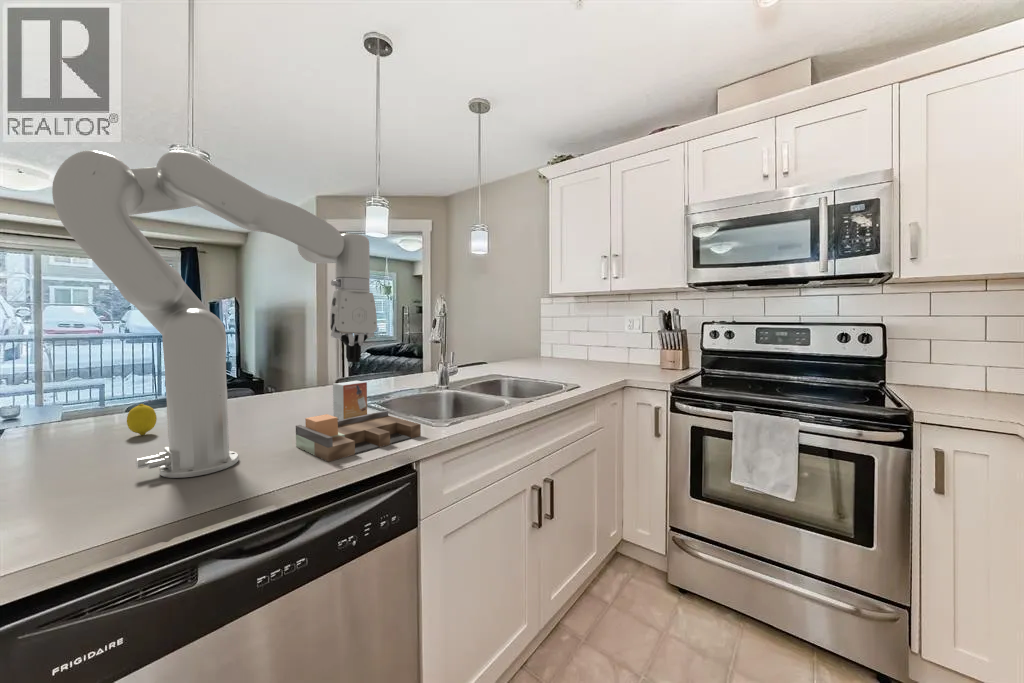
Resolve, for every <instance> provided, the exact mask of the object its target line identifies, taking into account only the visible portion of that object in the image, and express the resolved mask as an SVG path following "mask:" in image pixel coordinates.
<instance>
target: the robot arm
mask: <svg viewBox="0 0 1024 683" xmlns="http://www.w3.org/2000/svg"><path fill="white" fill-rule="evenodd" d="M51 193H52V201H53V205H54V209H55V211H56V215H57V216H58V219H59V221H60V222H61V223H62V225H63V227H64V228H65V230H66V231H67V233H68V234H69V235H70V236H71V237H72V239H73V240H74V241H75V242H76V244H78V245H79V247H80V248H81V249H82V250H83V251H84V253H86V254H87V256H89V258H90V259H91V260H92V261H93V263H94V264H95V265H96V266H97V267H98V268H99V269H100V270H101V272H103V274H105V276H106V277H107V278H108V279H109V280H110V282H112V283H113V285H114V286H115V288H116V289H117V290H118V291H119V292H120V294H121V295H122V297H123V298H124V299H125V300H126V301H127V302H128V303H130V304H131V305H132V306H134V307H135V308H136V309H137V310H138V311H139V312H140V313H141V314H142V315H143V317H144V318H145V319H146V320H148V322H149V323H150V324H151V326H153V327H154V329H156V330H157V332H159V333H160V335H162V350H163V363H164V378H165V379H164V381H165V395H166V413H167V435H168V436H167V437H168V439H167V440H168V446H165V447H163V451H161V452H158V453H157V454H155V455H150V456H143V457H137V458H136V459H135V466H136V469H137V470H140V469H145V468H148V470H150V469H156V468H158V467H159V468H158V470H159V475H160V476H162V477H164V478H169V479H180V478H181V479H184V478H185V479H186V478H192V477H194V478H195V477H198V476H204V475H210V474H213V473H216V472H220V471H223V470H225V469H228V468H230V467H233V466H234V465H236V464H237V462H239V459H240V458H239V457H240V456H239V453H238V452H236V451H233V450H230V434H229V411H228V410H229V408H228V405H229V404H228V386H227V385H228V384H227V332H226V328H225V325H224V323H223V322H222V320H221V318H219V317H218V316H217V315H216V314H214V313H213V312H211V310H209V309H208V308H207V307H206V306H205V304H204V303H203V302H202V301H201V300H200V298H198V296H197V295H196V294H195V293H194V292H193V290H192V289H191V288H190V287H189V286H188V284H187V283H186V281H185V280H184V279H183V278H182V275H181V274H180V273H179V271H177V269H175V268H174V267H173V266H172V265H170V263H169V262H167V261H166V260H165V259H164V258H163V256H162V255H161V254H160V253H159V252H158V251H157V250H156V248H155V247H154V246H153V245H152V244H151V243H150V242H149V240H148V239H147V238H146V236H145V235H144V234H143V233H142V231H141V230H140V229H139V228H138V226H137V225H136V224H135V223H134V222H133V220H132V219H131V217H130V216H132V215H133V216H134V215H140V214H149V213H150V214H151V213H158V212H166V211H172V210H173V211H174V210H179V209H180V210H181V209H187V208H191V207H195V206H197V207H199V208H202V209H203V210H206V211H207V212H210V213H212V214H214V215H215V216H218V217H219V218H222V219H223V220H226V221H227V222H229V223H231V224H233V225H235V226H237V227H239V228H241V229H244V230H248V231H252V232H260V233H266V234H270V235H273V236H276V237H280V238H281V239H285V240H286V241H288V242H291V243H292V244H295V245H297V250H298V253H299V255H300V257H302V258H303V260H305V261H306V262H308V263H311V264H317V265H319V264H335V265H336V266H335V268H336V269H335V270H336V272H335V275H336V276H335V279H331V281H330V284H331V286H332V287H333V286H334V287H335V291H333V294H332V299H331V306H330V316H329V317H330V319H329V320H330V321H329V324H330V331H331V334H330V337H331V338H333V339H337V340H339V341H341V342H342V343H343V345H345V358H346V359H347V360H346V361H347V362H348V363H360V362H361V358H362V346H363V345H364V343H365V342H366V341H367V340H368V339H371V338H374V337H375V332H376V331H377V330H378V318H377V308H376V301H375V297H374V296H375V295H374V293H373V292H370V290H371V289H370V288H371V287H370V284H371V283H370V281H371V280H370V278H371V277H370V268H371V267H370V266H371V265H370V256H371V255H370V241H369V239H368V237H367V236H366V235H362V234H358V233H349V232H348V233H346V232H345V233H340V231H339V230H338V229H337V228H336V227H335V226H333V225H332V224H330V223H329V222H327V221H326V220H324V219H322V218H320V217H319V216H317V215H315V214H314V213H312V212H310V211H308V210H306V209H304V208H302V207H300V206H297V205H296V204H293V203H290V202H287V201H285V200H282V199H280V198H278V197H275V196H272V195H270V194H266V193H265V192H263V191H261V190H258V189H256V188H254V187H252V186H251V185H249V184H247V183H246V182H244V181H242V180H240V179H239V178H236V177H235V176H234V175H232V174H230V173H229V172H226V171H224V170H222V169H221V168H219V167H217V166H216V165H214V164H212V163H210V162H208V161H206V160H205V159H202V158H201V157H199V156H197V155H195V154H194V153H191V152H188V151H185V150H181V149H180V150H178V149H177V150H176V149H174V150H170V151H168V152H166V153H164V154H163V155H162V156H160V158H159V160H158V162H157V163H156V166H150V167H137V168H130V167H129V166H128V165H127V164H125V162H123V161H122V160H121V159H119V158H117V157H115V156H114V155H111V154H110V153H107V152H103V151H98V150H92V149H91V150H83V151H79V152H76V153H73V154H71V155H70V156H68V157H67V159H65V160H64V161H63V162H62V163H61V164H60V166H59V168H58V169H57V171H56V172H55V175H54V177H53V181H52V188H51Z"/></svg>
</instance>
